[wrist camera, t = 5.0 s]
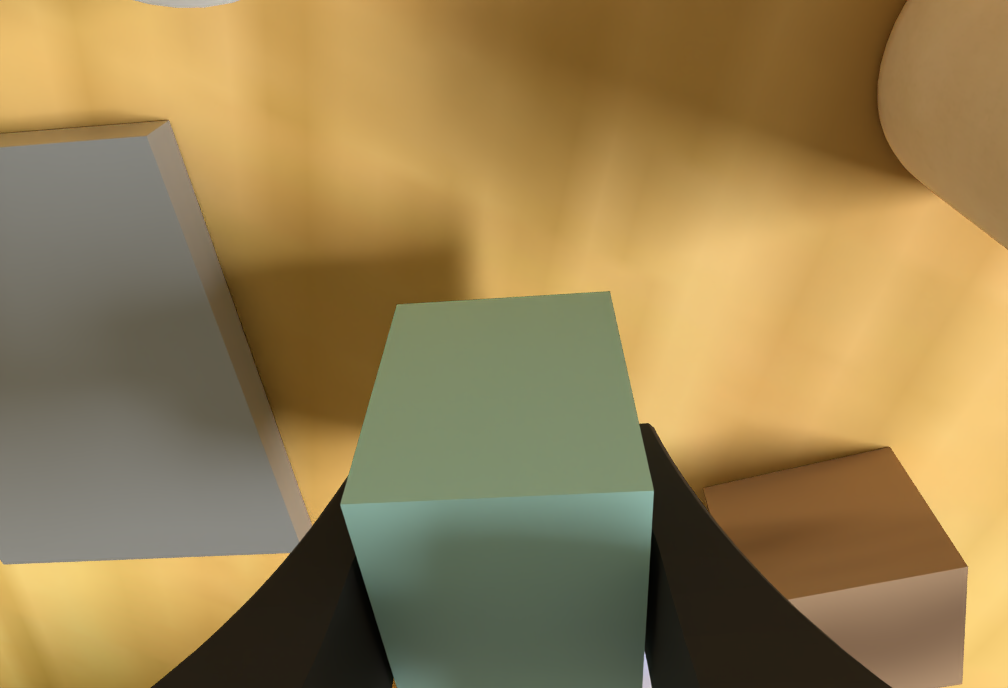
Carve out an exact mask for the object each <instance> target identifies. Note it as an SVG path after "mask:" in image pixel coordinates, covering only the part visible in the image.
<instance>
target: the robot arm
mask: <svg viewBox="0 0 1008 688" xmlns="http://www.w3.org/2000/svg"><path fill="white" fill-rule="evenodd" d="M639 426H640V430H641V435H642V439H643V444H644V448H645V453H646V457H647V462H648V466H649V471H650V475H651V480H652V484H653V489H654V498H653V515H652V532H651V548H650V565H649V582H648V599H647V616H646V633H645V650H644V667H643V684H642V688H892V687H891V686H889V685H888V684H887V683H885V682H884V681H883V680H881V679H880V678H879V677H877V676H876V675H875V674H874V673H872V672H871V671H870V670H869V669H867V668H866V667H865V666H863V665H862V664H861V663H860V662H858V661H857V660H856V659H855V658H853V657H852V656H851V655H850V654H848V653H847V652H846V651H845V650H843V649H842V648H841V647H840V646H839V645H838V644H837V643H835V642H834V641H833V640H832V639H831V638H830V637H829V636H827V635H826V634H825V633H824V632H823V631H822V630H821V629H819V628H818V627H817V626H816V625H815V624H814V623H813V622H811V621H810V620H809V619H808V618H807V617H806V616H805V615H803V614H802V613H801V612H800V611H799V610H798V609H797V608H796V607H795V606H794V605H793V604H791V603H790V602H789V601H788V600H787V599H786V598H785V597H784V596H783V595H782V594H781V593H780V592H779V591H778V590H777V589H776V588H775V587H774V586H773V585H772V584H771V583H770V582H769V581H768V580H767V579H766V578H765V577H764V576H763V575H762V574H761V572H760V571H759V570H758V569H757V568H756V567H755V566H754V565H753V564H752V563H751V562H750V561H749V560H748V559H747V557H746V556H745V555H744V554H743V553H742V552H741V551H740V550H739V548H738V547H737V546H736V545H735V544H734V543H733V541H732V540H731V539H730V538H729V537H728V535H727V534H726V533H725V532H724V531H723V529H722V528H721V527H720V526H719V525H718V523H717V522H716V521H715V519H714V518H713V517H712V516H711V514H710V513H709V512H708V510H707V509H706V508H705V506H704V505H703V504H702V502H701V501H700V500H699V498H698V497H697V495H696V494H695V493H694V491H693V490H692V489H691V487H690V486H689V484H688V483H687V482H686V480H685V479H684V477H683V476H682V474H681V473H680V471H679V470H678V468H677V467H676V465H675V463H674V462H673V460H672V459H671V457H670V455H669V454H668V452H667V451H666V449H665V447H664V445H663V444H662V442H661V440H660V438H659V437H658V435H657V433H656V431H655V429H654V427H652V426H651V425H650V424H649V423H646V424H639ZM347 479H348V476H347V478H346V479H345V481H344V482H343V484H342V485H341V487H340V488H339V490H338V491H337V493H336V494H335V495H334V497H333V498H332V500H331V501H330V502H329V504H328V505H327V507H326V508H325V509H324V511H323V512H322V513H321V515H320V516H319V518H318V519H317V520H316V522H315V523H314V524H313V526H312V527H311V528H310V529H309V531H308V532H307V533H306V534H305V536H304V537H303V538H302V539H301V541H300V542H299V543H298V544H297V546H296V547H295V548H294V549H293V551H292V552H291V553H290V554H289V556H288V557H287V558H286V559H285V560H284V562H283V563H282V564H281V565H280V566H279V567H278V569H277V570H276V571H275V572H274V573H273V574H272V575H271V577H270V578H269V579H268V580H267V581H266V582H265V583H264V584H263V585H262V586H261V587H260V589H259V590H258V591H257V592H256V593H255V594H254V595H253V596H252V597H251V598H250V599H249V600H248V601H247V602H246V603H245V604H244V605H243V606H242V607H241V608H240V609H239V610H238V611H237V612H236V613H235V614H234V615H233V616H232V617H231V618H230V619H229V620H228V621H227V622H226V623H225V624H224V625H223V626H222V627H221V628H220V629H219V630H218V631H217V632H215V633H214V634H213V635H212V636H211V637H210V638H209V639H208V640H207V641H206V642H205V643H203V644H202V645H201V646H200V647H199V648H198V649H197V650H196V651H194V652H193V653H192V654H191V655H190V656H188V657H187V658H186V659H185V660H184V661H182V662H181V663H180V664H179V665H178V666H177V667H175V668H174V669H173V670H172V671H171V672H169V673H168V674H167V675H166V676H165V677H163V678H162V679H161V680H160V681H158V682H157V683H156V684H155V685H154V686H152V687H151V688H392V684H393V678H394V677H393V673H392V670H391V667H390V664H389V660H388V657H387V654H386V651H385V647H384V644H383V641H382V638H381V635H380V631H379V628H378V625H377V622H376V618H375V615H374V612H373V609H372V606H371V602H370V599H369V596H368V593H367V589H366V586H365V583H364V580H363V577H362V573H361V570H360V567H359V564H358V560H357V557H356V554H355V551H354V548H353V544H352V541H351V538H350V535H349V531H348V528H347V525H346V522H345V519H344V515H343V512H342V509H341V506H340V504H341V500H342V496H343V493H344V489H345V486H346V482H347Z"/></svg>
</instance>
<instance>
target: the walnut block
mask: <svg viewBox="0 0 1008 688" xmlns="http://www.w3.org/2000/svg"><path fill="white" fill-rule="evenodd" d="M703 490H704V494H705V498H706V502H707V506H708V509H709V513H710V514H711V516H712V517H713V518H714V519H715V521H716V522H717V523H718V525H719V526H720V527H721V528H722V529H723V531H724V532H725V533H726V534H727V535H728V537H729V538H730V539H731V540H732V541H733V543H734V544H735V545H736V546H737V547H738V548H739V550H740V551H741V552H742V553H743V554H744V555H745V556H746V557H747V559H748V560H749V561H750V562H751V563H752V564H753V565H754V566H755V567H756V568H757V569H758V570H759V571H760V572H761V574H762V575H763V576H764V577H765V578H766V579H767V580H768V581H769V582H770V583H771V584H772V585H773V586H774V587H775V588H776V589H777V590H778V591H779V592H780V593H781V594H782V595H783V596H784V597H785V598H786V599H787V600H788V601H789V602H790V603H791V604H793V605H794V606H795V607H796V608H797V609H798V610H799V611H800V612H801V613H802V614H803V615H805V616H806V617H807V618H808V619H809V620H810V621H811V622H813V623H814V624H815V625H816V626H817V627H818V628H819V629H821V630H822V631H823V632H824V633H825V634H826V635H827V636H829V637H830V638H831V639H832V640H833V641H834V642H835V643H837V644H838V645H839V646H840V647H841V648H842V649H843V650H845V651H846V652H847V653H848V654H850V655H851V656H852V657H853V658H855V659H856V660H857V661H858V662H860V663H861V664H862V665H863V666H865V667H866V668H867V669H869V670H870V671H871V672H872V673H874V674H875V675H876V676H877V677H879V678H880V679H881V680H883V681H884V682H885V683H887V684H888V685H889V686H891V687H892V688H940V687H946V686H953V685H959V684H962V678H963V657H964V636H965V616H966V595H967V575H968V566H967V565H966V563H965V562H964V560H963V558H962V557H961V555H960V554H959V552H958V551H957V549H956V548H955V546H954V545H953V543H952V542H951V540H950V538H949V537H948V535H947V534H946V532H945V531H944V529H943V528H942V526H941V525H940V523H939V522H938V520H937V519H936V517H935V515H934V514H933V512H932V511H931V509H930V508H929V506H928V505H927V503H926V502H925V500H924V499H923V497H922V495H921V494H920V492H919V491H918V489H917V488H916V486H915V485H914V483H913V482H912V480H911V479H910V477H909V475H908V474H907V472H906V471H905V469H904V468H903V466H902V465H901V463H900V462H899V460H898V459H897V457H896V456H895V454H894V452H893V451H892V449H891V448H890V447H887V448H882V449H878V450H873V451H868V452H864V453H859V454H855V455H850V456H846V457H841V458H837V459H832V460H827V461H823V462H818V463H814V464H809V465H805V466H800V467H796V468H791V469H787V470H782V471H777V472H773V473H768V474H764V475H759V476H755V477H750V478H746V479H741V480H737V481H732V482H727V483H723V484H718V485H714V486H709V487H705V488H703Z"/></svg>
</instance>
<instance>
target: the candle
mask: <svg viewBox="0 0 1008 688" xmlns="http://www.w3.org/2000/svg"><path fill="white" fill-rule="evenodd" d="M877 103H878V111H879V118H880V122H881V126H882V129H883V132H884V135H885V137H886V139H887V141H888V143H889V145H890V147H891V149H892V151H893V152H894V154H895V155H896V157H897V158H898V159H899V161H900V162H901V163H902V165H903V166H904V167H905V168H906V169H907V170H908V171H909V172H910V173H911V174H912V175H913V176H914V177H915V178H916V179H917V180H919V181H920V182H921V183H922V184H924V185H925V186H926V187H927V188H928V189H930V190H931V191H932V192H933V193H934V194H936V195H937V196H938V197H940V198H941V199H942V200H943V201H945V202H946V203H947V204H949V205H950V206H951V207H953V208H954V209H955V210H957V211H958V212H959V213H960V214H962V215H963V216H964V217H966V218H967V219H968V220H970V221H971V222H972V223H974V224H975V225H976V226H978V227H979V228H980V229H981V230H983V231H984V232H985V233H987V234H988V235H989V236H991V237H992V238H993V239H995V240H996V241H997V242H998V243H1000V244H1001V245H1002V246H1004V247H1005V248H1006V249H1008V0H907V2H906V3H905V5H904V7H903V9H902V11H901V12H900V14H899V16H898V18H897V20H896V22H895V24H894V26H893V29H892V31H891V34H890V36H889V39H888V41H887V44H886V47H885V51H884V54H883V58H882V62H881V65H880V72H879V79H878V98H877Z"/></svg>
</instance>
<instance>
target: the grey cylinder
mask: <svg viewBox="0 0 1008 688" xmlns="http://www.w3.org/2000/svg"><path fill="white" fill-rule="evenodd" d="M135 1H139V2H143V3H147V4H152V5H160V6H168V7H175V8H193V7H210V6H216V5H222V4H228V3H233V2H236V1H239V0H135Z"/></svg>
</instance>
